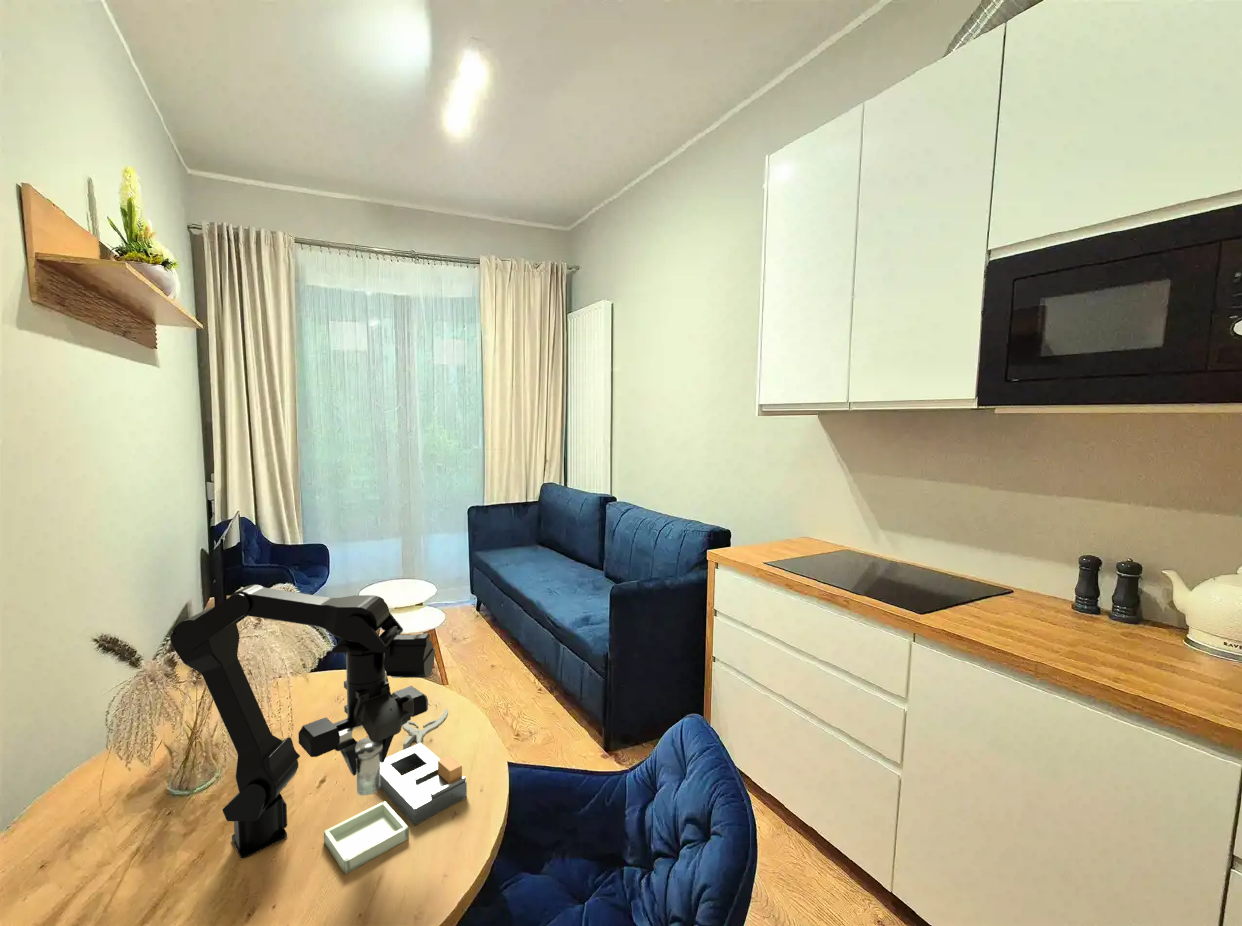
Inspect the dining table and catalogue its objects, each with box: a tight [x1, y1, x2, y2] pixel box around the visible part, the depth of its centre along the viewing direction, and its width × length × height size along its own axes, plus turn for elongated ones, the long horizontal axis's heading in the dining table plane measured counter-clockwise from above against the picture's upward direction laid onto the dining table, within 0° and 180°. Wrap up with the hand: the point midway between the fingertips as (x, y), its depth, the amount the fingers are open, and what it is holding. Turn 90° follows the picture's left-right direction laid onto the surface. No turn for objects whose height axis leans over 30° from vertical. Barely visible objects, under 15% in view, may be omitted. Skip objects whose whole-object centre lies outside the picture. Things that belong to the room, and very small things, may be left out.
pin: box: [355, 736, 383, 796], centre depth 90 cm, size 5×5×8 cm
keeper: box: [438, 754, 463, 783], centre depth 102 cm, size 2×4×2 cm, turn 47°
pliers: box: [402, 708, 449, 750], centre depth 123 cm, size 10×2×15 cm
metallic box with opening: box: [379, 742, 468, 826], centre depth 103 cm, size 10×18×4 cm, turn 47°
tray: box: [323, 800, 410, 875], centre depth 90 cm, size 10×9×2 cm
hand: (367, 767), depth 90 cm, fingers closed on pin, 4 cm apart
